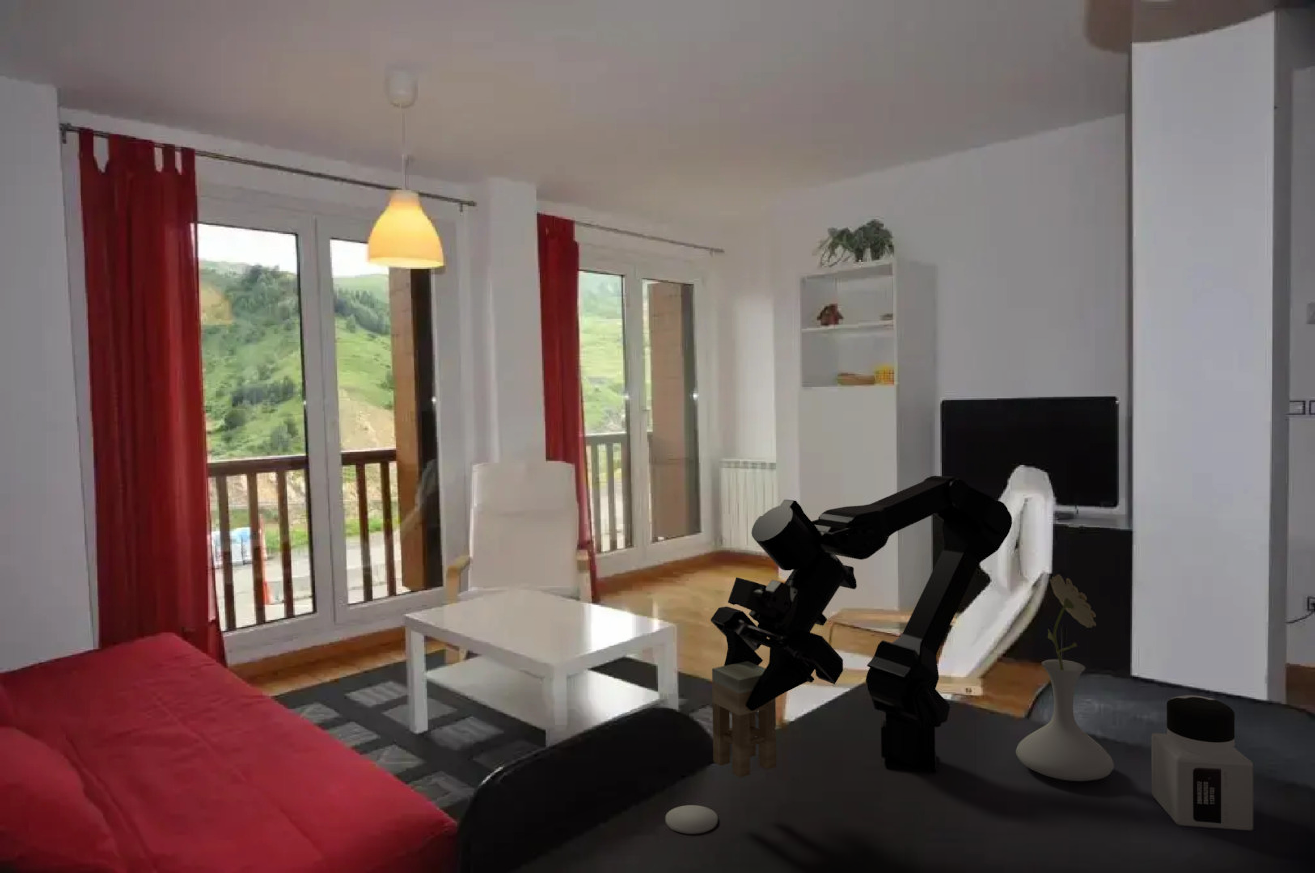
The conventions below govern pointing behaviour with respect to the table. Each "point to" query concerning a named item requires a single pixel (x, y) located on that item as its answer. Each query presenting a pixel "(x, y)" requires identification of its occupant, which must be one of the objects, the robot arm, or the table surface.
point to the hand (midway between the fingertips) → (733, 701)
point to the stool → (741, 719)
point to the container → (1202, 766)
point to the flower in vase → (1065, 710)
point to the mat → (691, 819)
